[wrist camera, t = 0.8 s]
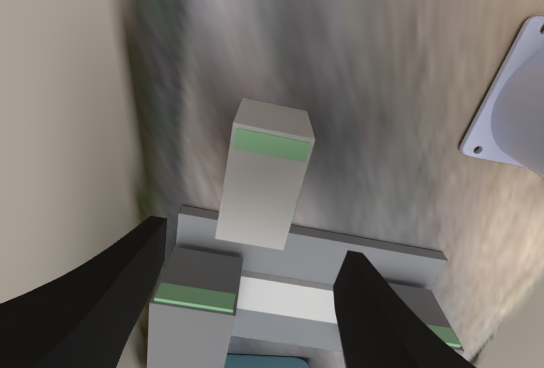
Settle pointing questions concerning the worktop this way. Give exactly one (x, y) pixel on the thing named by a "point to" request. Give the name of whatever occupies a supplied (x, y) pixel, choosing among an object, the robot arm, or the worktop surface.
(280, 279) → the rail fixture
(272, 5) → the worktop surface
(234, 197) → the module
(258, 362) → the data package
